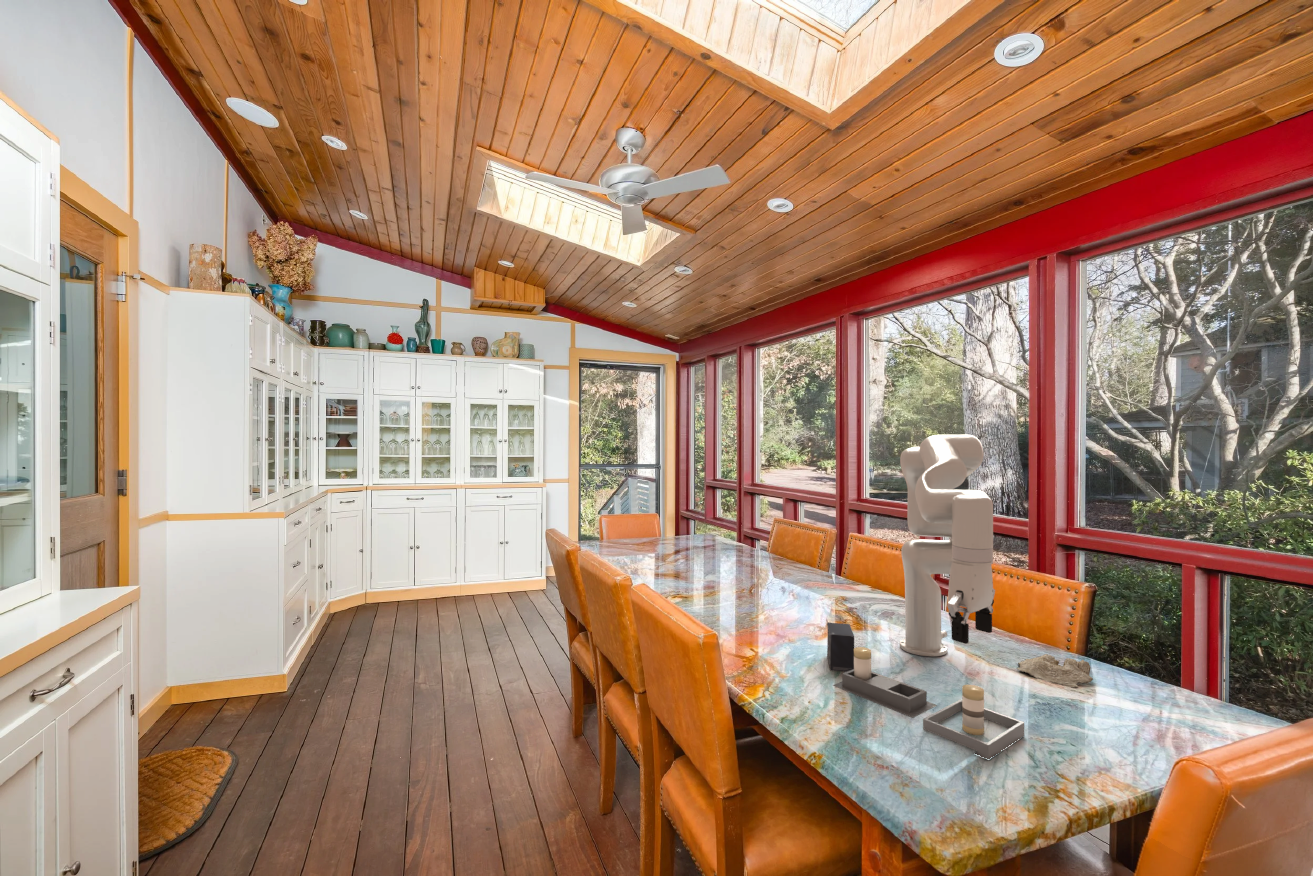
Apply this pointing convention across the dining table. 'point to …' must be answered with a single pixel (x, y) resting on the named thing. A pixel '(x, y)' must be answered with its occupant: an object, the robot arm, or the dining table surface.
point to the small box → (840, 647)
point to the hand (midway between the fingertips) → (972, 636)
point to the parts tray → (981, 747)
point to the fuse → (862, 663)
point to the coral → (1057, 670)
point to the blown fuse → (973, 709)
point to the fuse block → (887, 693)
